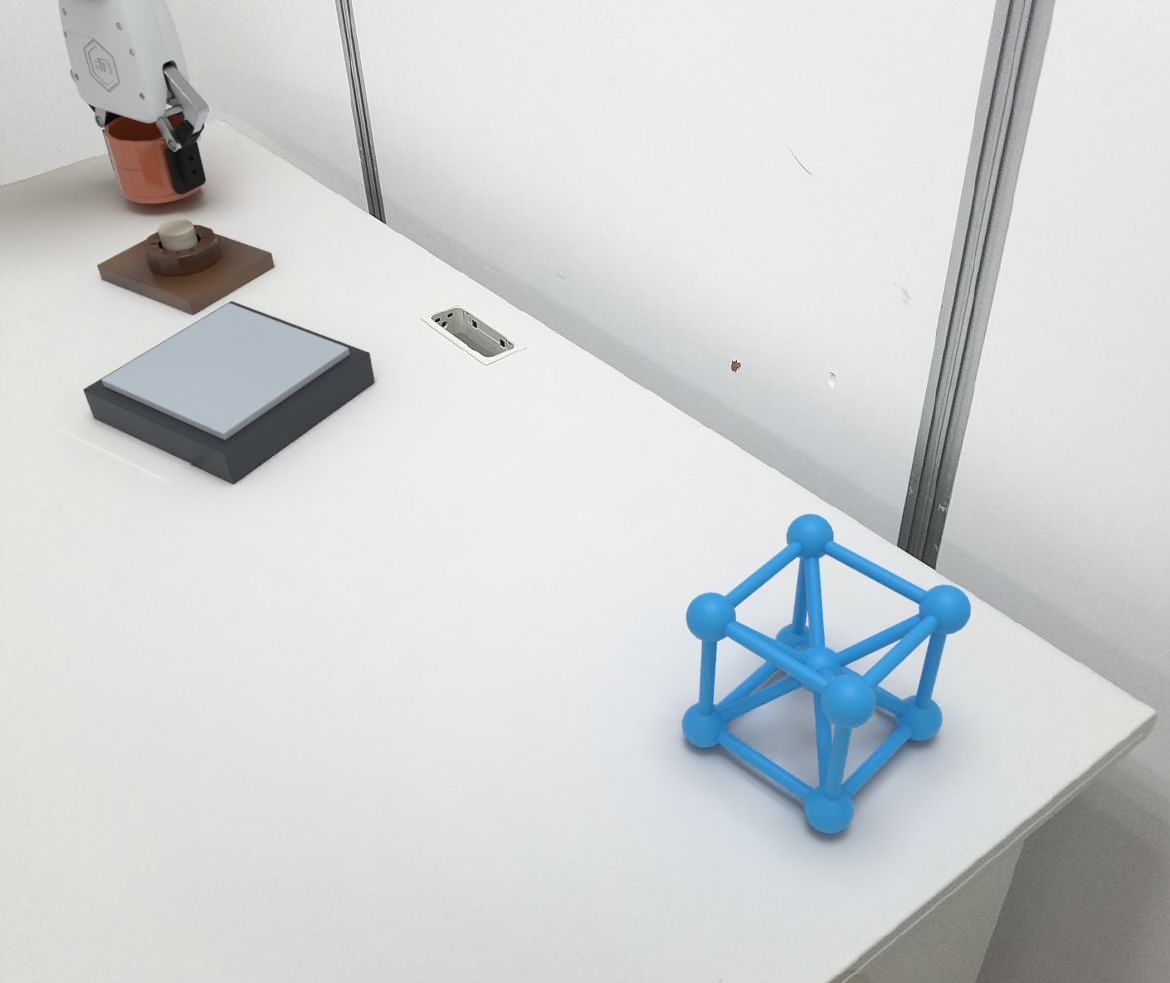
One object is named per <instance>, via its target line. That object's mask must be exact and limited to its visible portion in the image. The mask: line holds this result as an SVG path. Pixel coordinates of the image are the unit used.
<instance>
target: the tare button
mask: <svg viewBox="0 0 1170 983" xmlns="http://www.w3.org/2000/svg"><path fill="white" fill-rule="evenodd" d="M194 225H195V224H194V223H193V222H192V221H190V220H188V219H173V220H168V221H166V222H163V223H162V224H161V225H159V226H158V228H157V232H158V233H159V236H160V240H161V243H162V247H163V249H164V250H166V251H180V250H185V249H189V248H191V247H193V246H195V245H197V243H198V240H197V236H196V233H195V229H194Z"/></svg>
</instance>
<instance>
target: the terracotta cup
mask: <svg viewBox="0 0 1170 983" xmlns="http://www.w3.org/2000/svg"><path fill="white" fill-rule="evenodd" d="M168 120H169V122H170V124H171V126H172V128H173V129H174V131H176V129H177V127H178V126H179V124H180V123H179V121H178V119H177V117H176V115H175V116H173V117H170V118H168ZM103 129H104V135H103V138H104V137H105V139H104V141H105V140H106V142H105V145H106V144H107V146H106V148H107V147H108V149H107V152H108V151H109V153H108V155H109V154H110V156H109V159H110V158H111V160H110V162H111V161H112V163H111V166H112V165H113V167H112V169H113V168H114V170H113V172H114V176H115V179H116V182H117V186H118V188H119V191H120V193H121V195H122V197H124V198H125V199H127V201H128V200H129V201H131V202H134V203H138V204H163V203H164V204H165V203H171V202H174V201H178V200H182V199H185V198H188V197H189V196H191V195H193V194H194V193H196V192H197V191H199V189H201V187H202V186H203V185H201V186H199V187H197V188H195V189H193V190H191V191H189V192H187V193H185V194H183V195H180V194H177V193H176V192H175V191H174V188H173V184H172V180H171V176H170V172H169V168H168V164H167V160H166V156H165V151H164V150H166V149H168V148H169V146H168V145H167V143H166V141H165V139H164V138H163V136H162V134H161V132H160V131H159V129H158V127H157V125H156V124H155V122H152V123H145V122H141V121H137V120H134V119H131V118H127V117H124V116H121V117H119V118H117V119H114V120H112V121H111V122H110V123H109V124H107V125H106V126H105V127H104V128H103Z"/></svg>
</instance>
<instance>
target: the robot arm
mask: <svg viewBox="0 0 1170 983" xmlns="http://www.w3.org/2000/svg"><path fill="white" fill-rule="evenodd" d="M57 2H58V10H59V16H60V22H61V27H62V28H61V29H62V33H63V38H64V41H65V46H66V52H67V55H68V59H69V63H70V67H71V69H70V70H69V74H70V75H69V76H70V77H71V79H72V80H73V82H74V83H75V86H76V90H77V92H78V95H79V96H80V98H81V99H82V100H83V101H84V102H85V103H86V104H87V105H88V106H89V108H90V109H91V110H92V112H93V113H94V121H95V123H96V125H97V127H99V128H100V129H101V132H102V135H103V139H104V142H105V145H106V149H107V153H108V156H109V160H110V164H111V167H112V170H113V171H114V168H113V165H112V161H111V158H110V154H109V151H108V147H107V144H106V140H105V137H104V129H105V126H106V125H107V124H109V123H110V122H111V121H112V120H114V119H117V118H119V117H121V116H124V117H127V118H131V119H134V120H137V121H141V122H145V123H152V122H155V124H156V125H157V127H158V129H159V131H160V132H161V134H162V136H163V138H164V139H165V141H166V143H167V145H168V146H169V148H168V149H166V150H164V151H165V156H166V160H167V164H168V168H169V172H170V176H171V180H172V184H173V188H174V191H175V192H176V193H177V194H180V195H183V194H185V193H187V192H189V191H191V190H193V189H195V188H197V187H199V186H201V185H202V186H203V185H205V184H206V181H207V179H206V174H205V169H204V165H203V160H202V156H201V153H200V149H199V143H198V142H200V141H201V139H202V135H201V134H202V132H203V131H204V129H205V123H206V120H207V118H208V116H209V112H210V107H209V105H208V103H207V102H206V100H204V99H203V97H202V96H201V95H200V94H199V93H198V92H197V91H196V89H195V88H194V87H193V86H192V85H191V80H190V76H189V72H188V67H187V64H186V60H185V56H184V53H183V49H182V45H181V42H180V39H179V35H178V32H177V29H176V26H175V23H174V20H173V17H172V14H171V11H170V9H169V5H168V3H167V1H166V0H57ZM167 105H168V106H171V107H169V108H167ZM166 108H167V109H166ZM175 115H176V117H177V119H178V121H179V123H180V124H179V126H178V127H177V129H176V131H174V129H173V128H172V126H171V124H170V122H169V120H168V118H170V117H173V116H175ZM202 186H201V187H202Z"/></svg>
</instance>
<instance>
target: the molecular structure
mask: <svg viewBox="0 0 1170 983" xmlns="http://www.w3.org/2000/svg"><path fill="white" fill-rule="evenodd" d="M785 536H786V539H785V540H786V544H787V546H785V547H784V548H783V549H781V551H779V552H778V553H777V554H775V555H774V556H773V557H772V558H770V559H769V560H768V561H766V562H765V563H764V564H763V565H762V566H760V567H759V568H758V569H757V570H755V571H754V572H753V573H752V574H750V575H749V576H748V577H747V578H746V579H744V580H743V581H742V582H741V583H739V584H738V585H737V586H735V588H733V589H731V591H729V592H728V593H726V595H723V594H721V593H718V592H711V591H710V592H704V593H701V594H699V595H697V596H696V597H694V598H693V599H692V600H691V601H690V603H689V605H688V606H687V609H686V613H685V622H686V626H687V628H688V630H689V632H690V634H692V635H693V636H694V637H695V638H696V639H697V640H700V641H701V648H700V649H701V652H700V668H699V669H700V671H699V690H698V702H696V703H694V704H693V705H691V706H689V707H688V708H687V709H686V711H685V712H684V714H683V717H682V720H681V730H682V734H683V735H684V737H685V738H686V740H687V741H688V742H689V743H690V744H691V745H694V746H695V747H698V748H703V749H707V748H712V747H714V746H716V745H718V744H720V745H721V746H723V747H724V748H725V749H727V750H728V751H730V752H731V753H733V754H734V755H736V757H739V758H740V759H742V760H743V761H745V762H746V763H748V764H749V765H751V766H752V767H753V768H755V769H756V770H758V771H760V772H761V773H762V774H764V775H765V776H767V777H768V778H770V779H771V780H773V781H774V782H776V783H777V784H779V785H780V786H781V787H783V788H784V789H786V790H787V791H789V792H790V793H792V794H793V795H795V796H796V797H797V798H799V799H801V800H802V801H803V802H804V803H803V804H804V805H803V806H804V815H805V818H806V820H807V822H808V824H809V825H810V826H811V827H812V828H813V829H815V830H816V831H818V832H821V833H822V834H837V833H840V832H842V831H844V830H845V829H846V828H847V827H848V826H849V825H850V824H851V822H852V820H853V818H854V816H855V815H854V814H855V804H854V801H853V799H852V797H853V796H854V795H855V794H856V793H857V792H859V790H860V789H861V788H862V787H863V786H864V785H865V784H866V783H867V782H868V781H869V780H870V779H871V778H872V777H873V776H874V775H875V774H876V773H877V772H878V771H879V769H881V768H882V767H883V766H884V765H885V764H886V762H888V760H890V758H892V756H893V755H894V754H895V753H897V751H898V750H899V749H901V747H903V746H904V744H905V743H906V742H907V741H908V740H911V739H912V741H917V742H923V741H928V740H929V739H932V738H934V737H935V736H936V735H937V734H938V733H939V731H940V729H941V727H942V725H943V713H942V710H941V708H940V706H939V705H938V703H937V702H936V701H935V700H934V699H932V697H933V693H934V688H935V684H936V681H937V676H938V673H939V669H940V665H941V664H940V663H941V661H942V656H943V653H944V648H945V645H946V640H947V636H948V635H952V634H955V633H957V632H959V631H961V630H962V629H964V627H965V626H967V624H968V622H969V620H970V618H971V614H972V612H971V611H972V610H971V609H972V607H971V602H970V599H969V597H968V596H967V594H966V593H965V592H964V591H963V590H961V589H960V588H958V587H957V586H955V585H951V584H939V585H935V586H933V587H932V588H929V589H928V590H926V589H924V588H922V587H920V586H919V585H916V584H914V583H912V582H910V581H909V580H907V579H905V578H903V577H902V576H899V575H898V574H896V573H893V572H892V571H890V570H888V569H887V568H885V567H883V566H880V565H879V564H877V563H874V561H871V560H870V559H868V558H865V557H864V556H862V555H861V554H858V553H856V552H854V551H853V550H852V549H851V550H850V549H849V548H847V547H845V546H843V545H841V544H839V543H838V542H836V541H835V538H834V536H835V534H834V530H833V527H832V525H831V524H830V523H829V521H828V520H827V519H826V518H824V517H823V516H821V515H820V514H819V515H818V514H814V513H804V514H802V515H800V516H798V517H795V519H794V520H792V521H791V523H790V524H789V526H788V527H787V531H786V535H785ZM826 555H827V556H829V557H831V558H832V559H834V560H835V561H837V562H840V563H841V564H843V565H845V566H847V567H849V568H850V569H852V570H853V571H856V572H858V573H859V574H861V575H864V576H865V577H867V578H869V579H871V580H873V581H874V582H876V583H878V584H880V585H882V586H884V587H885V588H888V589H889V590H891V591H893V592H894V593H897V594H898V595H900V596H902V597H904V598H905V599H907V600H910V601H911V602H913V603H915V604H917V605H918V613H917V614H915V615H912V616H910V617H908V618H906V619H904V620H902V621H900V622H898V623H896V624H893V625H892V626H890V627H887V628H886V629H884V630H881V631H880V632H877V633H875V634H873V635H871V636H869V637H867V638H865V639H862V640H860V641H858V642H857V643H854V644H852V645H850V646H848V647H846V648H844V649H842V650H840V651H838V652H836V651H834V649H832V648H830V647H828V646H826V638H825V637H826V636H825V625H824V624H825V622H824V610H823V595H822V582H821V568H820V567H821V566H820V559H822V558H823V557H824V556H826ZM797 558H798V559H799V562H798V571H797V579H796V588H795V595H794V604H793V612H792V620H791V623H788V624H787V625H785V626H783V627H782V628H781V629H780V630H779V631H778V632H777V634H776V635H775V638H772V637H771V636H768V635H766V634H764V633H762V632H760V631H758V630H756V629H754V628H751V627H750V626H747V625H745V624H744V623H741V622H739V621H737V613H736V608H737V607H738V606H739V605H741V603H743V602H744V601H745V600H746V599H748V598H749V597H750V596H752V595H753V593H756V591H758V590H759V589H760V588H761V587H762V586H764V585H765V584H766V583H767V582H769V581H770V580H771V579H772V578H774V577H775V576H776V575H778V573H780V572H781V571H782V570H783V569H785V568H786V567H788V565H789V564H790V563H792V562H793V561H795V560H796V559H797ZM807 622H808V624H807ZM725 638H729V639H730V640H732V641H734V642H735V643H737V644H738V645H740V646H742V647H743V648H745V649H746V650H748V651H749V652H751V653H753V654H754V655H756V656H758V657H759V658H761V659H763V660H765V662H764V663H763V664H762V665H761V666H759V667H758V668H756V670H755V671H753V672H752V673H751V674H750V675H749V676H748V677H746V679H745V680H743V681H742V682H741V683H740V684H739V685H738V686H736V687H735V688H734V689H732V691H731V692H729V693H728V694H727V695H726V696H725V697H724V698H722V700H720V701H719V702H718V703H714V701H715V685H716V684H715V682H716V668H717V667H716V666H717V653H718V642H720V641H722V640H724V639H725ZM927 638H929V639H928V644H927V648H926V652H925V656H924V661H923V665H922V669H921V673H920V678H919V682H918V685H917V691H916V694H913V695H909V696H908V697H906V698H903V699H901V698H900V697H898V696H897V695H895V694H893V693H892V692H890V691H888V690H886V689H885V688H883V687H882V686H880V683H882V682H883V681H884V680H885V679H886V678H887V677H888V676H889V675H890V674H891V673H892V672H893V671H895V669H896V668H897V667H898V666H899V665H900V664H901V663H902V662H904V661H905V660H906V659H907V658H908V657H909V656H910V655H911V654H912V653H913V652H914V651H915V650H916V649H917V648H918V647H919V646H920V645H921V644H922V643H923V642H924V641H926V640H927ZM894 643H896V644H895V645H893V647H891V648H890V649H889V651H887V652H886V653H885V654H884V655H883V656H882V657H881V658H880V659H879V660H878V661H876V663H875V664H874V665H873V666H871V667H870V668H869V669H868V670H867V671H866V672H865V673H864V674H863V675H861V674H859V673H858V672H856V671H855V670H853V669H851V668H850V667H848V665H850V664H852V663H854V662H856V661H858V660H862V659H863V658H865V657H867V656H869V655H871V654H873V653H875V652H877V651H879V650H881V649H885V648H886V647H888V646H890V645H892V644H894ZM778 670H781V671H782V672H783V673H785V674H787V675H788V676H785V677H784V678H782V679H780V680H778V681H776V682H774V683H771V684H770V685H768V686H766V687H763V688H761V689H759V690H757V689H758V688H759V687H760V686H761V685H763V684H764V683H765V682H766V681H767V680H768V679H770V678H771V677H772V676H773V675H774V674H775V673H776V672H777V671H778ZM800 688H803V689H805V690H806V691H808V692H810V693H811V694H812V695H813V707H814V708H813V710H814V721H815V722H814V723H815V738H816V752H817V765H818V766H817V769H818V779H819V783H818V784H819V785H817V786H816V787H814V788H813V787H811V786H810V785H808V784H807V783H805V782H804V781H803V780H801V779H799V778H798V777H797V776H795V775H793V774H792V773H791V772H789V771H788V770H786V769H784V768H783V767H782V766H780V765H779V764H777V763H776V762H774V761H773V760H771V759H770V758H768V757H766V756H765V755H764V754H762V753H760V752H759V751H758V750H756V749H755V748H753V747H752V746H750V745H749V744H748V743H746V742H744V741H742V740H741V739H739V737H737V736H735V735H734V734H732V733H731V732H729V731H728V729H729V726H728V725H729V722H730V721H733V720H734V719H737V718H738V717H741V716H743V715H745V714H748V713H749V712H752V711H754V710H755V709H758V708H760V707H762V706H764V705H766V704H768V703H771V702H773V701H774V700H776V699H778V698H781V697H783V696H785V695H787V694H789V693H791V692H793V691H795V690H797V689H800ZM756 690H757V691H756ZM876 707H879V708H880V709H882V710H885V711H886V712H888V713H891V714H893V715H894V722H895V726H896V728H897V729H895V730H894V731H893V733H892V734H890V735H889V736H888V737H887V738H886V739H885V740H884V742H882V744H880V745H879V747H877V748H876V749H875V750H874V751H873V752H872V753H871V755H870V756H869V757H867V759H866V760H865V761H864V762H862V764H860V765H859V767H858V768H857V769H856V770H855V771H854V772H852V774H851V775H850V776H848V777H847V779H846V780H845V781H844V782H843V780H844V779H843V778H844V774H845V768H846V763H847V758H848V752H849V746H850V742H851V736H852V732H853V729H855V728H856V729H857V728H859V727H861V726H863V725H865V724H866V723H867V722H868V721H869V720H870V719H871V718H872V716H873V714H874V713H875V710H876ZM832 725H835V726H834V729H833V730H834V731H833V733H832ZM832 734H833V736H832ZM922 740H923V741H922Z"/></svg>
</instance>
